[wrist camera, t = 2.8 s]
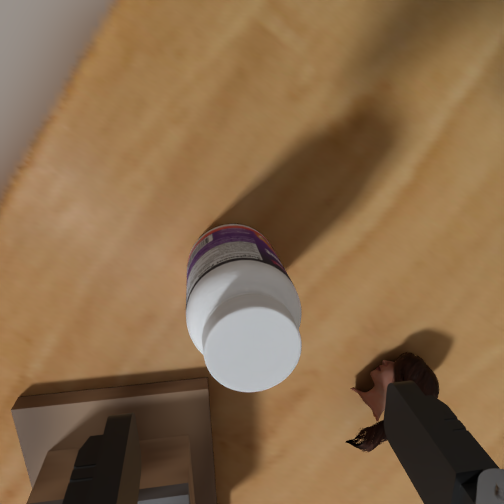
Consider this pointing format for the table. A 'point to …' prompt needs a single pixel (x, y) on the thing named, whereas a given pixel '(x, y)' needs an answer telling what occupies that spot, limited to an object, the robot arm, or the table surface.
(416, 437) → the robot arm
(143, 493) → the display stand
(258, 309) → the pill bottle
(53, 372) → the table surface
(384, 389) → the head bust
